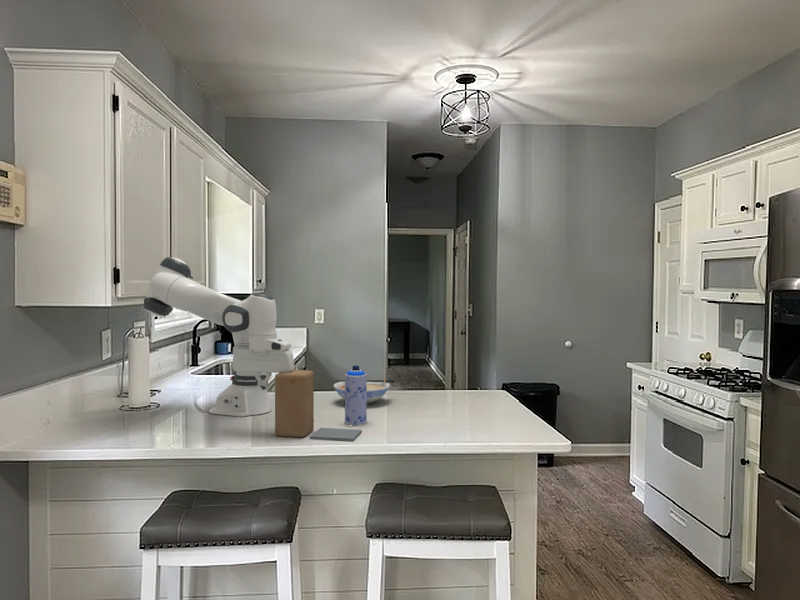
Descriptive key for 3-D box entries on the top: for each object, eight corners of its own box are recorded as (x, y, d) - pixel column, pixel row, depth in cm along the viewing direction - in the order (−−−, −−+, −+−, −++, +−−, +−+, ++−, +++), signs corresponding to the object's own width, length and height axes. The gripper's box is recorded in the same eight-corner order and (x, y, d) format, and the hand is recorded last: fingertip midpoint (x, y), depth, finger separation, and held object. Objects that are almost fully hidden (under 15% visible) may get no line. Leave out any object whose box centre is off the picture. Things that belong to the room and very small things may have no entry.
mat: (309, 439, 182) (309, 436, 182) (320, 430, 193) (320, 427, 193) (353, 441, 180) (353, 438, 180) (361, 432, 191) (361, 429, 191)
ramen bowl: (324, 408, 227) (324, 387, 226) (337, 396, 249) (337, 377, 249) (388, 409, 224) (388, 388, 223) (395, 397, 246) (395, 378, 246)
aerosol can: (352, 419, 208) (353, 363, 208) (371, 422, 204) (371, 365, 204) (339, 424, 201) (339, 366, 201) (358, 426, 198) (358, 368, 197)
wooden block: (303, 438, 183) (303, 375, 182) (273, 436, 185) (273, 373, 184) (314, 430, 193) (314, 370, 192) (286, 428, 195) (286, 369, 194)
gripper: (228, 343, 189) (228, 386, 189) (288, 345, 185) (288, 388, 185) (237, 341, 195) (237, 382, 195) (295, 343, 191) (295, 385, 192)
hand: (263, 385), depth 190 cm, fingers closed
